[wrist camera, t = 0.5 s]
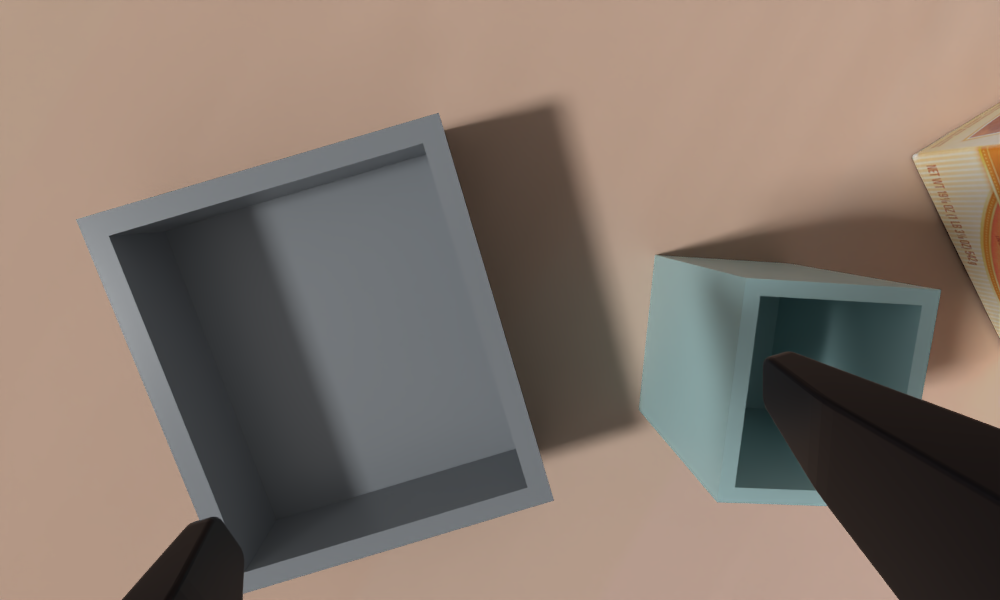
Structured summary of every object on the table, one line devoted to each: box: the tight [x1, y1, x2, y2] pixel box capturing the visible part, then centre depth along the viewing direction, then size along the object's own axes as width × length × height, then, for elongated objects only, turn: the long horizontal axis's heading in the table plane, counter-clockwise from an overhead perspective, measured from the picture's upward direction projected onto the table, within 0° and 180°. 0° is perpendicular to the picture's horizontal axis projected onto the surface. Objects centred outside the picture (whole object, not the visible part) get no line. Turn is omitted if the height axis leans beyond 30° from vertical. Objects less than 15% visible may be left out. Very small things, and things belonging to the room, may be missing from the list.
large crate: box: [76, 113, 554, 594], centre depth 23 cm, size 15×13×4 cm
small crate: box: [639, 255, 941, 506], centre depth 22 cm, size 7×6×8 cm
